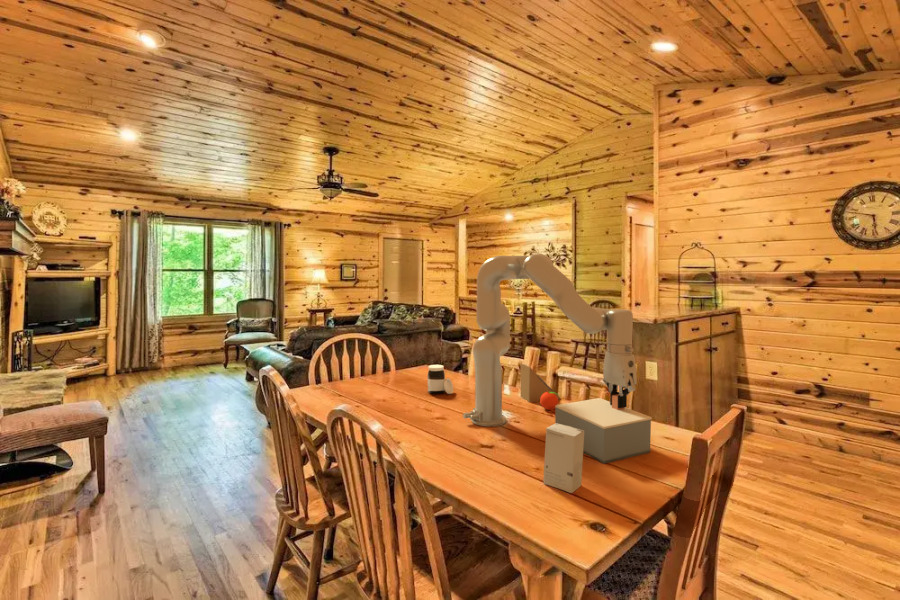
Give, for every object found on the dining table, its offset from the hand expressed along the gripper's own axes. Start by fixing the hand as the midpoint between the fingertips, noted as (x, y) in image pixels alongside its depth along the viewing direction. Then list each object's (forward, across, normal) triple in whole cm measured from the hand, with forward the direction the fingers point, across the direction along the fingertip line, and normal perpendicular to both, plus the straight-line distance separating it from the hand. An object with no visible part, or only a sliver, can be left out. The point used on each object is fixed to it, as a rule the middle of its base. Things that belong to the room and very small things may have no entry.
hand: (618, 405), depth 144 cm
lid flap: (+1, 0, +7) cm, 7 cm away
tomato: (+12, +35, 0) cm, 37 cm away
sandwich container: (+12, +49, -6) cm, 51 cm away
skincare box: (+12, -16, +34) cm, 39 cm away
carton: (+11, 0, +7) cm, 13 cm away
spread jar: (+12, +76, +29) cm, 82 cm away
